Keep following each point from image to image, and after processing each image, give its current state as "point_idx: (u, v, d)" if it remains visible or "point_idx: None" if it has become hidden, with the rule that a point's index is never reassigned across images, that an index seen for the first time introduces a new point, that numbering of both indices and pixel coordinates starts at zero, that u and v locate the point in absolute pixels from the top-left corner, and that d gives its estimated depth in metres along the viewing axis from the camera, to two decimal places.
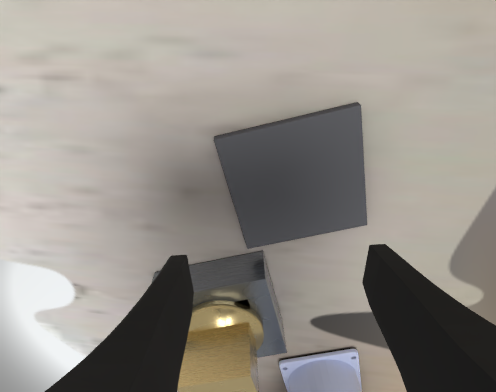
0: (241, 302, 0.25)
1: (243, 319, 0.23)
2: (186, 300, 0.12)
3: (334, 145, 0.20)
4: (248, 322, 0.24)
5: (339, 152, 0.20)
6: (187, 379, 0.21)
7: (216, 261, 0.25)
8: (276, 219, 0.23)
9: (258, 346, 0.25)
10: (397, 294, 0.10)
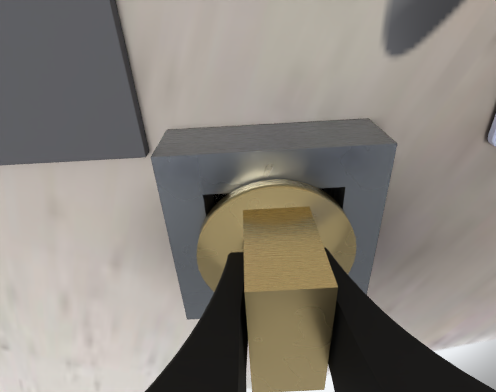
0: None
1: (232, 217, 0.12)
2: None
3: None
4: (242, 211, 0.12)
5: None
6: None
7: None
8: (79, 99, 0.13)
9: (325, 204, 0.12)
10: None
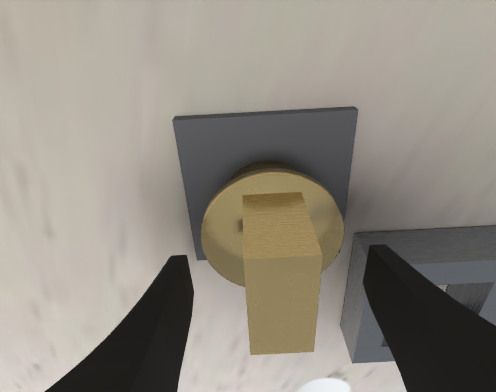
0: None
1: (233, 201, 0.14)
2: (186, 300, 0.12)
3: (220, 151, 0.16)
4: (242, 195, 0.13)
5: (231, 146, 0.16)
6: None
7: (348, 278, 0.22)
8: None
9: (315, 189, 0.13)
10: (397, 294, 0.10)
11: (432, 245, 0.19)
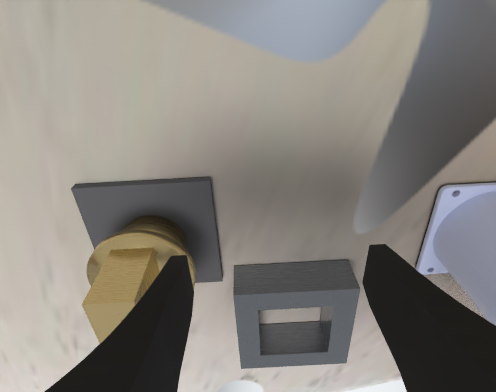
0: None
1: (105, 254, 0.19)
2: (186, 300, 0.12)
3: (111, 209, 0.21)
4: (110, 250, 0.19)
5: (118, 205, 0.21)
6: None
7: None
8: (191, 256, 0.24)
9: (163, 246, 0.19)
10: (397, 294, 0.10)
11: (288, 277, 0.24)
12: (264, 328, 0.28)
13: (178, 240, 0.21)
